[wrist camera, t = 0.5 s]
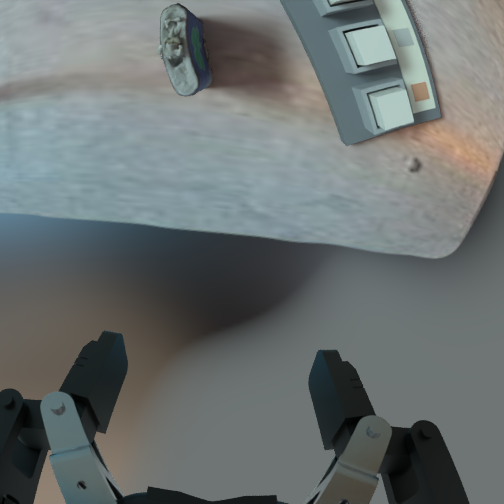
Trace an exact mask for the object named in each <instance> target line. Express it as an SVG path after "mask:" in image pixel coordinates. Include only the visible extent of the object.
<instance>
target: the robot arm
mask: <svg viewBox="0 0 504 504" xmlns="http://www.w3.org/2000/svg"><path fill="white" fill-rule="evenodd" d="M127 368H128V360H127V356H126V351H125V345H124V340H123V336H122V334H121V333H114V332H110V331H104V332H102V334H101V336H100V338H99V339H98V341H93V340H92V341H91V342H89V343H88V344H87V345H86V346H84V347H83V349H82V350H81V352H80V354H79V355H78V358H77V359H76V361H75V362H74V365H73V366H72V368H71V370H70V371H69V373H68V375H67V377H66V379H65V380H64V382H63V384H62V386H61V388H60V390H59V391H58V392H52V393H50V394H48V395H47V396H45V397H44V398H43V400H28V399H23V397H22V396H21V394H20V393H19V392H18V391H17V390H15V389H5V390H2V391H1V392H0V504H33V503H34V499H35V494H36V490H37V486H38V483H39V479H40V475H41V472H42V468H43V465H44V462H45V458H46V455H47V452H48V450H52V455H50V462H51V466H52V469H53V471H54V474H55V477H56V480H57V482H58V485H59V487H60V490H61V492H62V495H63V497H64V499H65V502H66V504H288V503H284V502H279V501H277V496H276V495H270V496H243V497H238V498H232V499H227V500H221V501H207V500H204V499H200V498H197V497H194V496H191V495H188V494H185V493H182V492H178V491H172V490H165V489H160V488H154V487H148V490H147V492H143V493H136V494H131V495H128V496H124V494H123V492H122V491H121V489H120V488H119V486H118V485H117V483H116V481H115V480H114V478H113V477H112V475H111V473H110V471H109V469H108V467H107V465H106V463H105V461H104V459H103V457H102V455H101V453H100V451H99V448H98V447H97V444H96V442H95V440H94V437H95V434H96V431H97V432H101V433H104V434H105V433H106V430H107V427H108V424H109V421H110V418H111V415H112V412H113V409H114V407H115V404H116V401H117V398H118V395H119V392H120V390H121V387H122V384H123V381H124V379H125V376H126V374H127ZM309 390H310V394H311V398H312V402H313V406H314V409H315V413H316V417H317V421H318V425H319V429H320V433H321V437H322V441H323V445H324V449H325V450H329V449H334V451H335V454H336V455H335V456H334V458H333V459H332V461H331V463H330V464H329V466H328V468H327V470H326V471H325V473H324V474H323V476H322V478H321V479H320V481H319V483H318V484H317V486H316V487H315V489H314V490H313V492H312V493H311V494H310V495H309V497H308V498H307V499H306V501H305V502H304V503H303V504H369V503H370V501H371V498H372V496H373V494H374V492H375V489H376V487H377V485H378V481H379V479H378V478H377V477H376V475H377V473H381V476H382V479H383V483H384V487H385V490H386V494H387V498H388V502H389V504H469V501H468V498H467V495H466V493H465V491H464V487H463V485H462V482H461V480H460V477H459V475H458V472H457V470H456V467H455V465H454V463H453V460H452V458H451V455H450V453H449V451H448V449H447V447H446V444H445V442H444V440H443V437H442V436H441V433H440V431H439V429H438V428H437V426H436V425H434V424H433V423H432V422H430V421H426V420H421V421H418V422H416V423H414V425H413V426H412V427H411V428H401V427H392V426H390V424H389V423H388V422H387V421H386V420H385V419H383V418H382V417H379V416H376V414H375V412H374V410H373V407H372V405H371V402H370V400H369V398H368V396H367V393H366V391H365V389H364V388H363V384H362V382H361V380H360V378H359V375H358V373H357V371H356V369H355V368H354V367H353V366H352V365H351V364H350V363H349V362H348V361H345V362H344V361H342V359H341V357H340V355H339V352H338V351H337V350H319V351H318V352H317V354H316V358H315V360H314V363H313V366H312V369H311V372H310V375H309Z"/></svg>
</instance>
